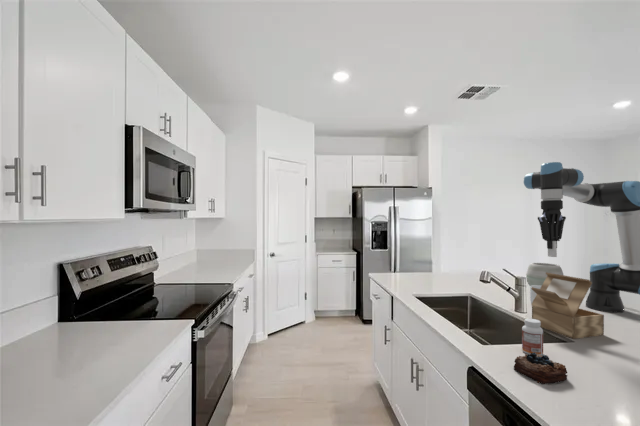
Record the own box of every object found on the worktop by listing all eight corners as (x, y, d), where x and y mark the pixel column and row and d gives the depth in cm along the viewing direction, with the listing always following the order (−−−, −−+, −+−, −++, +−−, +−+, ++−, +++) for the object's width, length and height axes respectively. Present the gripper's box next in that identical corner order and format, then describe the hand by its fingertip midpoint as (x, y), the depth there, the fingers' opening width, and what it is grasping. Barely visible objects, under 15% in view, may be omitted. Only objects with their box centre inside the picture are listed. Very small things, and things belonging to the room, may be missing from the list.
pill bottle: (529, 347, 119) (529, 316, 119) (547, 354, 114) (547, 321, 114) (518, 350, 116) (518, 319, 116) (536, 357, 111) (536, 324, 111)
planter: (572, 312, 164) (572, 266, 164) (538, 312, 164) (539, 266, 164) (549, 303, 180) (550, 262, 180) (519, 303, 180) (519, 262, 181)
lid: (549, 275, 148) (536, 263, 146) (592, 282, 131) (578, 269, 129) (531, 305, 146) (518, 293, 144) (573, 317, 128) (559, 304, 126)
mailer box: (559, 321, 150) (559, 303, 150) (603, 335, 133) (603, 314, 133) (531, 324, 146) (531, 305, 146) (573, 338, 128) (573, 318, 128)
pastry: (544, 387, 92) (544, 366, 92) (507, 368, 103) (507, 349, 103) (573, 381, 95) (573, 361, 95) (534, 363, 107) (534, 345, 107)
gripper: (554, 200, 145) (555, 254, 145) (531, 200, 141) (531, 256, 141) (572, 199, 137) (572, 257, 137) (548, 199, 134) (548, 258, 134)
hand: (552, 256), depth 139 cm, fingers closed
